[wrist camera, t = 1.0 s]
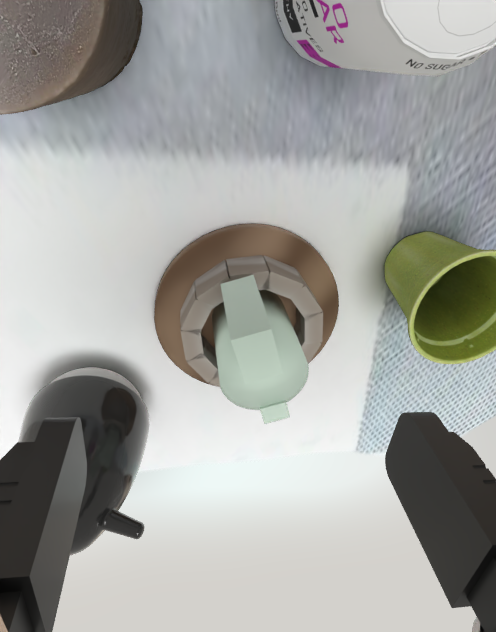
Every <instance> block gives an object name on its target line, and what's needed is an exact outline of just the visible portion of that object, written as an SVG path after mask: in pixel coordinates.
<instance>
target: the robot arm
mask: <svg viewBox="0 0 496 632" xmlns="http://www.w3.org/2000/svg"><path fill="white" fill-rule="evenodd" d="M385 463H386V470H387V474H388V477H389V479H390V481H391V483H392V485H393V487H394V489H395V491H396V493H397V495H398V498H399V500H400V502H401V504H402V506H403V508H404V510H405V512H406V514H407V516H408V518H409V520H410V522H411V524H412V526H413V529H414V530H415V533H416V535H417V537H418V539H419V541H420V543H421V545H422V547H423V549H424V551H425V553H426V555H427V557H428V560H429V562H430V564H431V566H432V568H433V570H434V572H435V574H436V576H437V578H438V580H439V582H440V584H441V586H442V588H443V590H444V593H445V595H446V597H447V599H448V601H449V603H450V605H451V607H452V608H456V607H465V606H472V608H473V610H474V612H475V614H476V616H477V617H476V619H475V621H474V623H473V629H472V632H496V479H495V477H494V476H493V475H492V473H491V472H490V471H489V469H486V467H485V464H484V462H483V461H482V460H481V458H480V457H479V456H478V454H477V453H476V451H475V450H474V449H473V447H471V446H470V445H469V444H468V443H467V442H465V441H464V440H463V439H462V438H460V437H459V436H458V435H457V434H456V433H454V432H448V430H447V429H446V428H445V426H444V425H443V423H442V422H441V420H440V419H439V418H438V416H437V415H436V414H434V413H432V412H412V413H402V414H401V415H400V417H399V419H398V422H397V425H396V427H395V430H394V433H393V436H392V438H391V441H390V444H389V446H388V449H387V452H386V458H385ZM86 477H87V460H86V452H85V445H84V438H83V430H82V423H81V419H80V418H79V417H72V418H45V419H44V420H43V422H42V424H41V426H40V429H39V432H38V434H37V437H36V439H35V442H18V443H17V444H16V445H15V446H14V447H13V448H12V449H11V450H10V451H9V452H8V453H7V454H6V455H5V456H4V457H3V458H2V459H1V460H0V632H52V630H53V625H54V621H55V617H56V613H57V608H58V604H59V599H60V595H61V591H62V586H63V582H64V577H65V572H66V568H67V564H68V560H69V556H70V551H71V547H72V543H73V538H74V534H75V530H76V525H77V521H78V517H79V512H80V508H81V503H82V499H83V495H84V490H85V485H86Z"/></svg>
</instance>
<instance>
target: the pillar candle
mask: <svg viewBox="0 0 496 632" xmlns="http://www.w3.org/2000/svg"><path fill="white" fill-rule="evenodd" d="M141 25H142V6H141V4H140V2H139V0H0V115H2V114H12V113H18V112H24V111H28V110H32V109H36V108H39V107H42V106H46V105H50V104H53V103H57V102H60V101H63V100H67V99H71V98H74V97H76V96H79V95H82V94H85V93H88V92H91V91H94V90H95V89H97V88H99V87H101V86H104V85H106V84H107V83H108V82H109V81H112V80H113V79H114V78H115V77H117V76H118V75H119V74H120V73H121V72H122V70H123V69H124V66H126V65H127V64H128V63H129V61H130V60H131V58H132V56H133V53H134V51H135V49H136V47H137V43H138V40H139V36H140V32H141Z"/></svg>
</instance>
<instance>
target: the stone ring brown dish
mask: <svg viewBox="0 0 496 632" xmlns="http://www.w3.org/2000/svg"><path fill="white" fill-rule="evenodd" d="M250 275H254V278H255V281H256V284H257V287H258V290H265V289H266V290H268V291H271V292H273V293H276V294H277V295H278V296H279V297H280V299H281V300H282V302H283V304H284V307H285V309H286V312H287V314H288V316H289V319H290V321H291V324H292V326H293V328H294V331H295V333H296V336H297V338H298V340H299V343H300V345H301V348H302V350H303V352H304V355H305V357H306V359H307V363H308V364H309V362H310V361H312V360H313V359H314V358H315V356H316V355H317V354H318V353H319V352H320V351H321V350H322V348H323V347H324V346H325V344H326V342H327V341H328V339H329V337H330V336H331V333H332V331H333V329H334V326H335V323H336V319H337V314H338V306H339V304H338V291H337V285H336V282H335V280H334V277H333V274H332V272H331V271H330V269H329V267H328V265H327V264H326V262H325V261H324V260H323V258H322V257H321V255H320V254H319V253H318V251H316V250H315V249H314V248H313V247H312V246H311V245H310V244H309V243H308V242H307V241H305V240H304V239H302V238H301V237H299V236H298V235H296V234H294V233H292V232H290V231H287V230H284V229H282V228H279V227H275V226H270V225H264V224H239V225H233V226H228V227H224V228H221V229H218V230H214V231H212V232H210V233H208V234H206V235H203V236H202V237H200V238H198V239H197V240H195V241H193V242H192V243H191V244H189V245H188V246H187V247H186V248H184V249H183V250H182V251H181V252H180V253H179V254H178V255H177V256H176V257H175V258H174V259H173V261H172V262H171V263H170V265H169V266H168V268H167V269H166V271H165V273H164V275H163V277H162V279H161V281H160V284H159V287H158V290H157V295H156V300H155V316H154V320H155V327H156V332H157V335H158V339H159V341H160V343H161V345H162V347H163V349H164V351H165V352H166V354H167V355H168V357H169V358H170V359H171V360H172V361H173V362H174V364H175V365H176V366H178V367H179V368H180V369H181V370H182V371H184V372H185V373H187V374H188V375H190V376H191V377H193V378H195V379H197V380H199V381H201V382H204V383H207V384H210V385H214V386H218V387H220V382H219V374H218V366H217V358H216V350H215V342H214V334H213V326H212V313H213V309H214V307H216V306H217V305H219V304H220V303H222V302H223V296H222V290H221V285H220V284H222V283H226V282H229V281H233V280H236V279H240V278H243V277H247V276H250Z"/></svg>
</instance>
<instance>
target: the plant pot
mask: <svg viewBox="0 0 496 632" xmlns="http://www.w3.org/2000/svg"><path fill="white" fill-rule="evenodd" d="M385 281H386V283H387V285H388V287H389V289H390V290H391V292H392V294H393V295H394V297H395V299H396V300H397V302H398V304H399V306H400V307H401V309H402V311H403V313H404V314H405V316H406V318H407V323H408V333H409V337H410V340H411V342H412V344H413V346H414V347H415V349H416V350H417V351H418V352H419V353H420V354H421V355H422V356H423V357H425V358H426V359H428V360H431V361H433V362H437V363H441V364H460V363H465V362H469V361H473V360H476V359H478V358H481V357H483V356H485V355H486V354H488V353H490V352H492V351H494V350H496V250H481V249H475V248H473V247H470V246H467V245H465V244H462V243H459V242H457V241H454V240H452V239H449V238H447V237H445V236H442V235H439V234H437V233H434V232H422V233H418V234H414V235H411V236H407V237H406V238H404V239H402V240H401V241H400V242H399V243H398V244H396V245H395V247H394V248H393V249H392V250H391V252H390V253H389V255H388V257H387V259H386V262H385Z"/></svg>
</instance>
